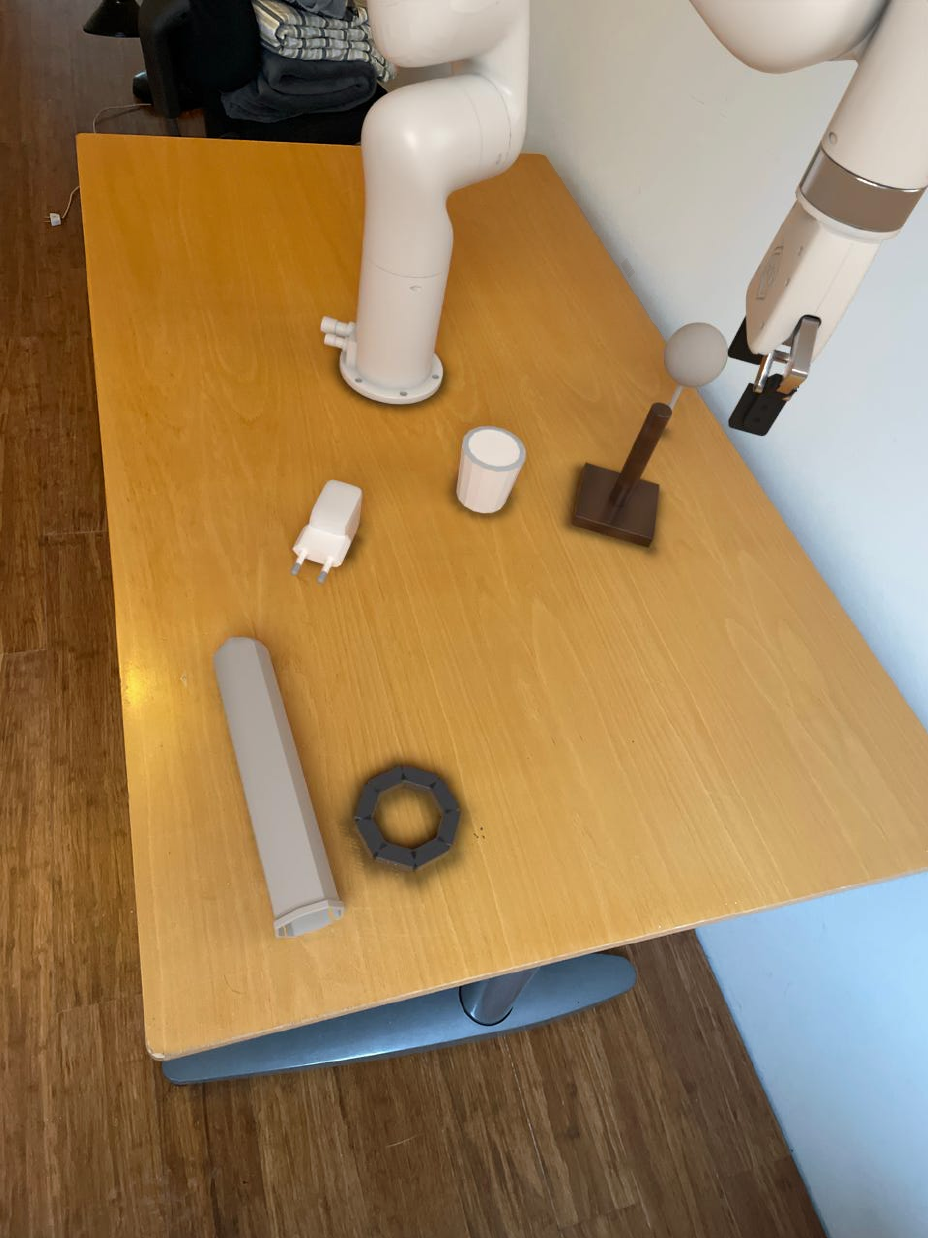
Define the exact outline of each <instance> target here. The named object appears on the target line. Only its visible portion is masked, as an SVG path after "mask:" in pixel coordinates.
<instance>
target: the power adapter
mask: <svg viewBox="0 0 928 1238" xmlns="http://www.w3.org/2000/svg"><path fill="white" fill-rule="evenodd" d="M362 504H363V491H362V489H361V488H360V487H358V486H355V485H353V484H351V483H347V482H343V481H340V480H338V479H337V480H336V479H330V480H327V481H326V483H325V485H324V486H323V487H322V490H321V492H320V493H319V496H318V497H317V500H316V502H315V504H314V506H313V508H312V510H311V512H310V515H309V522H308V523H307V524H305V525H304V526H303V527H302V529H301V531H300V533H299V534H298V537H297V539H296V540H295V543H294V544H293V547H292V551H293V552H294V553H295V554H296V556H297V557H296V560H295V562H294V563H293V564H292V567H291V568H290V571H289V572H290V575H291V576H293V577H297V575H299V572H300V570H301V568H302V566H303V563H304V561H305V560H309V561H312V562H315V563H318V564H322V565H323V566H322V568H321V570H320V572H319V573H318V576H317V577H316V582H317V584H319V585H322V584H324V583H325V581H326V579H327V577H328V574H329V572H330V569H331V568H337V567H339V566H341V565H342V564H343V562H344V560H345V557H346V556H347V553H348V551H349V550H350V547H351V545H352V542H353V540H354V539H355V536H356V533H357V531H358V529H359V526H360V521H361V514H362Z"/></svg>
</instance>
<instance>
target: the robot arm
mask: <svg viewBox="0 0 928 1238" xmlns="http://www.w3.org/2000/svg"><path fill="white" fill-rule="evenodd" d="M688 1H689V3H691V5H692V7H693V8H694V10H695V11H696V12H697V14H698V16H699V17H700V18H701V20H702V21H703V23H704V24H705V25H706V26H707V27H708V29H709V30H710V32H711V33H712V34H713V35H714V36H715V38H716V39H717V40H718V41H719V42H720V44H721V45H722V46H724V48H725V49H726V50H727V51H728V52H729V53H730V54H731V55H732V56H733V57H734V58H736V59H737V60H738V61H739V62H741V63H742V64H743V65H745V66H747V68H748V67H749V68H751V69H753V70H756V71H758V72H760V73H764V74H772V75H781V74H788V73H791V72H796V71H799V70H803V69H806V68H809V67H812V66H815V65H819V64H822V63H824V62H838V61H839V62H842V61H843V62H845V61H854V62H856V63H857V67H856V69H855V70H854V72H853V75H852V77H851V79H850V81H849V83H848V85H847V87H846V89H845V91H844V93H843V95H842V97H841V98H840V101H839V103H838V105H837V107H836V108H835V110H834V112H833V115H832V116H831V119H830V121H829V123H828V125H827V127H826V129H825V131H824V133H823V134H822V137H821V139H820V141H819V142H818V145H817V147H816V149H815V151H814V152H813V154H812V156H811V158H810V160H809V163H808V165H807V167H806V169H805V170H804V173H803V175H802V177H801V179H800V181H799V183H798V185H797V186H796V189H795V193H794V194H795V198H796V199H795V202H794V203H793V204H792V207H791V208H790V210H789V211H788V213H787V215H786V216H785V218H784V220H783V222H782V223H781V225H780V227H779V229H778V231H777V232H776V234H775V235H774V238H773V240H772V241H771V243H770V245H769V247H768V248H767V250H766V251H765V254H764V255H763V257H762V259H761V261H760V263H759V265H758V266H757V268H756V270H755V272H754V274H753V276H752V278H751V279H750V281H749V284H748V286H747V289H746V293H745V316H744V317H743V319H742V322H741V323H740V325H739V327H738V329H737V331H736V333H735V335H734V336H733V339H732V341H731V343H730V345H729V346H728V358H730V359H734V360H737V361H741V362H743V363H748V364H752V365H754V366H759V367H758V370H757V373H756V376H755V380H754V382H748V383H747V385H746V388H745V389H744V391H743V393H742V394H741V396H740V398H739V399H738V402H737V403H736V404H735V407H734V408H733V411H732V412H731V414H730V416H729V418H728V420H727V425H728V428H730V429H732V430H737V431H739V432H740V431H741V432H744V433H747V434H751V435H755V436H759V437H765V436H767V434H769V431H770V430H771V428H772V426H773V425H774V423H775V422H776V420H777V419H778V417H779V415H780V414H781V412H782V410H783V409H784V407H785V406H786V404H787V402H790V400H791V399H792V397H793V396H794V394H795V393H797V392H798V389H800V386H801V385H802V384H803V383H804V382H805V381H806V380H807V378H808V376H809V374H810V371H811V365H812V364H813V363H814V362H815V360H816V359H817V358H818V357H819V356H820V354H821V353H822V351H823V349H824V348H825V346H826V345H827V343H828V342H829V341H830V339H831V337H832V335H833V334H834V332H835V331H836V329H837V327H838V326H839V324H840V322H841V321H842V319H843V317H844V315H845V314H846V312H847V310H848V309H849V306H850V304H851V303H852V302H853V299H854V298H855V296H856V294H857V292H858V290H859V288H860V286H861V285H862V283H863V281H864V279H865V277H866V275H867V273H868V272H869V269H870V267H871V266H872V264H873V262H874V259H875V257H876V256H877V254H878V252H879V250H880V247H881V246H882V244H883V242H884V241H886V240H891V239H893V238H895V237H897V236H898V235H899V233H900V232H901V230H902V229H903V227H904V225H905V224H906V222H907V221H908V219H909V217H910V216H911V214H912V213H913V211H914V210H915V208H916V206H917V205H918V202H919V201H920V200H921V199H922V196H923V195H924V194H925V192H926V190H927V189H928V0H688ZM366 9H367V15H368V16H367V17H368V25H369V29H370V34H371V37H372V38H371V39H372V40H373V43H374V45H375V47H376V49H377V51H378V53H379V54H380V55H381V57H382V58H383V59H384V60H386V61H387V62H388V63H390V64H392V65H394V66H396V67H400V68H423V67H431V66H436V65H442V64H446V63H450V67H451V68H450V71H451V76H446V77H443V78H439V77H438V78H434V79H430V80H424V81H420V82H416V83H411V84H408V85H405V86H401V87H398V88H395V89H394V90H392V91H389V92H387V93H386V94H384V95H383V96H381V97H380V98H379V99H377V100H376V101H375V102H374V103H373V105H372V106H371V107H370V109H369V110H368V112H367V114H366V115H365V118H364V120H363V123H362V128H361V135H360V148H361V160H362V169H363V180H364V197H365V198H364V199H365V200H364V223H363V225H364V226H363V236H362V249H361V262H360V273H359V283H358V294H357V307H356V319H355V321H352V320H350V321H349V322H348V323H347V322H345V321H341V320H339V319H336V318H333V317H330V316H326V315H324V316H323V317H322V319H321V323H320V333H324V334H325V335H324V338H323V344H324V345H326V346H329V347H333V348H338V349H341V352H340V355H339V365H338V366H339V371H340V374H341V376H342V378H343V380H344V381H345V382H346V383H347V385H348V386H349V387H351V389H352V390H354V391H355V392H357V393H358V394H360V395H362V396H364V397H365V398H367V399H370V400H373V401H376V402H379V403H384V404H390V405H409V404H415V403H419V402H423V401H425V400H427V399H429V398H430V397H432V396H433V395H435V394H436V392H438V390H439V389H440V387H441V385H442V381H443V376H444V367H443V363H442V362H441V359H440V358H439V356H438V355H437V354H436V352H435V350H436V349H435V348H436V343H437V338H438V334H439V333H438V332H439V327H440V321H441V317H442V316H441V315H442V309H443V305H444V299H445V294H446V288H447V283H448V278H449V272H450V268H451V267H450V266H451V261H452V254H453V250H454V249H453V248H454V229H453V228H454V227H453V224H452V221H451V219H450V216H449V213H448V209H447V200H448V198H449V197H450V195H451V194H453V193H455V192H457V191H459V190H462V189H464V188H467V187H469V186H472V185H476V184H478V183H481V182H485V181H487V180H490V179H493V178H496V177H497V176H500V175H502V174H503V173H505V172H507V171H508V170H509V169H510V168H511V167H513V165H514V164H515V162H516V161H517V159H518V158H519V156H520V154H521V152H522V149H523V146H524V142H525V137H526V130H527V125H528V124H527V123H528V102H529V75H530V73H529V72H530V46H531V45H530V44H531V42H530V41H531V0H366ZM781 345H782V346H786V347H789V348H790V349H789V352H785V351H781V350H778V347H780V346H781ZM774 362H777V363H780V364H784V365H785V367H784V368H783V369H782V370H781V373H778V372H776V373H773V374H771V375H770V372H771V369H772V366H773V363H774Z"/></svg>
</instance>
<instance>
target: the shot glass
mask: <svg viewBox="0 0 928 1238" xmlns="http://www.w3.org/2000/svg"><path fill="white" fill-rule="evenodd" d="M460 451H461V452H460V458H459V459H460V460H459V468H458V473H457V474H458V475H457V482H456V490H455V491H456V492H455V493H456V495H457V499H458V501H459V502H460V503H461V504H462V505H463V506H464V507H465V508H467V509H469V510H471V511H473V512H476V513H481V514H492V513H496V512H497V511H499V510H501V509H502V508H503V507H504V505H506V502H507V500H508V497H509V496H510V494H511V491H512V489H513V487H514V485H515V483H516V480H517V479H518V476H519V474H520V472H521V470H522V468H523V465H524V463H525V462H526V457H527V456H526V455H527V449H526V448H525V445H524V443H523V441H522V440H521V439H519V438H518V437H517V435H515V434H514V433H512V432H511V431H509V430H507V429H505V428H501V427H498V426H493V425H485V426H478V427H475V428H473V429H469V431H468V432H467V433H466V434H464V436H463V438H462V443H461V450H460Z"/></svg>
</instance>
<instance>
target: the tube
mask: <svg viewBox="0 0 928 1238" xmlns="http://www.w3.org/2000/svg"><path fill="white" fill-rule="evenodd" d="M212 662H213V670H214V674H215V678H216V683H217V686H218V691H219V695H220V699H221V704H222V707H223V708H222V709H223V711H224V716H225V721H226V724H227V725H226V726H227V729H228V732H229V737H230V741H231V745H232V749H233V754H234V758H235V763H236V766H237V770H238V774H239V778H240V783H241V787H242V792H243V795H244V799H245V803H246V808H247V813H248V817H249V821H250V824H251V828H252V833H253V837H254V841H255V845H256V849H257V854H258V858H259V861H260V866H261V871H262V874H263V879H264V883H265V887H266V891H267V895H268V899H269V903H270V909H271V912H272V916H273V920H274V921H273V922H272V927H273V928H272V929H273V934H274V938H277V939H294V938H295V939H296V938H299V937H301V936H304V935H307V934H310V933H313V932H316V931H319V930H322V929H324V928H325V927H328V926H329V925H331V924H333V923H335V922H336V921H334V922H333V921H332V920H331V917H330V913H329V910H328V909H332V914H334V916H333V918H334V920H335V919H336V920H337V921H339V920H341V919H342V918H344V915H345V909H346V906H345V903H344V901H343V900H340V897H339V893H338V890H337V887H336V883H335V880H334V876H333V873H332V870H331V866H330V861H329V859H328V854H327V852H326V847H325V844H324V842H323V838H322V835H321V831H320V827H319V823H318V820H317V817H316V814H315V810H314V806H313V803H312V799H311V796H310V793H309V789H308V785H307V782H306V778H305V775H304V772H303V768H302V764H301V761H300V757H299V754H298V750H297V746H296V743H295V740H294V736H293V733H292V729H291V725H290V723H289V718H288V716H287V712H286V708H285V705H284V701H283V697H282V694H281V690H280V686H279V683H278V680H277V676H276V673H275V670H274V666H273V663H272V662H273V661H272V658H271V656H270V652H269V649H268V647H266V646H265V645H264V644H263V643H262V642H261V641H260V640H259V638H258V639H257V638H253V637H249V636H231V637H228V639H227V640H226V641H225V642H223V643H222V644H221V645H220V646H219V647H218V648H217V649H216V651H215V653H214V655H213V656H212ZM283 926H285V928H286V933H287V937H286V936H285V933H284V932H285V931H284V928H283ZM282 937H284V938H282Z"/></svg>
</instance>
